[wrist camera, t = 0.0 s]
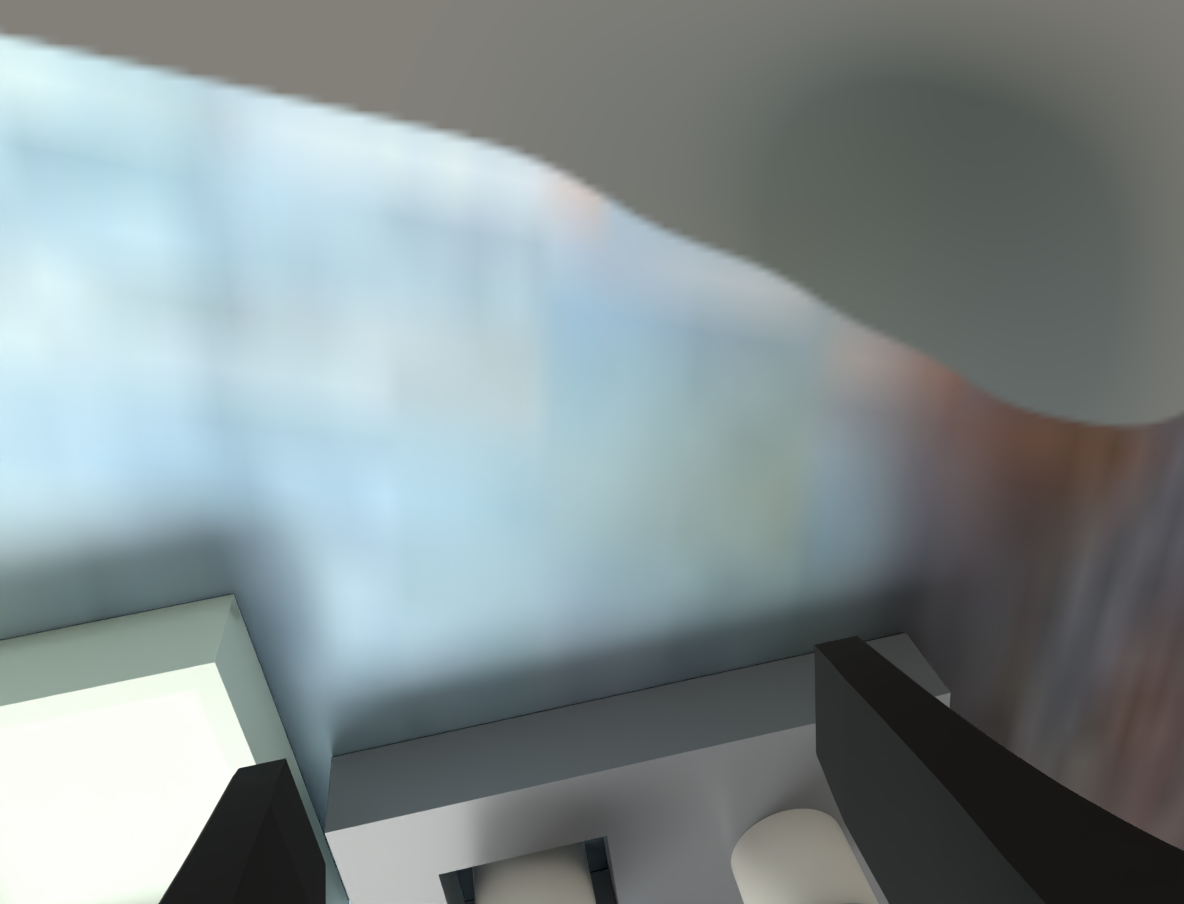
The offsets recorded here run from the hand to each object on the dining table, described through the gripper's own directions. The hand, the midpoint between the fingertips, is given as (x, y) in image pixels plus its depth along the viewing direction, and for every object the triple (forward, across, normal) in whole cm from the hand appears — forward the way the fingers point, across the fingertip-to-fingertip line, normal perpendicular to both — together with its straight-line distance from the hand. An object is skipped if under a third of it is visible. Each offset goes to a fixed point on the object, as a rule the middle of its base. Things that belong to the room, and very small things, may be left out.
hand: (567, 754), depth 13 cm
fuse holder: (+10, -2, +13) cm, 17 cm away
